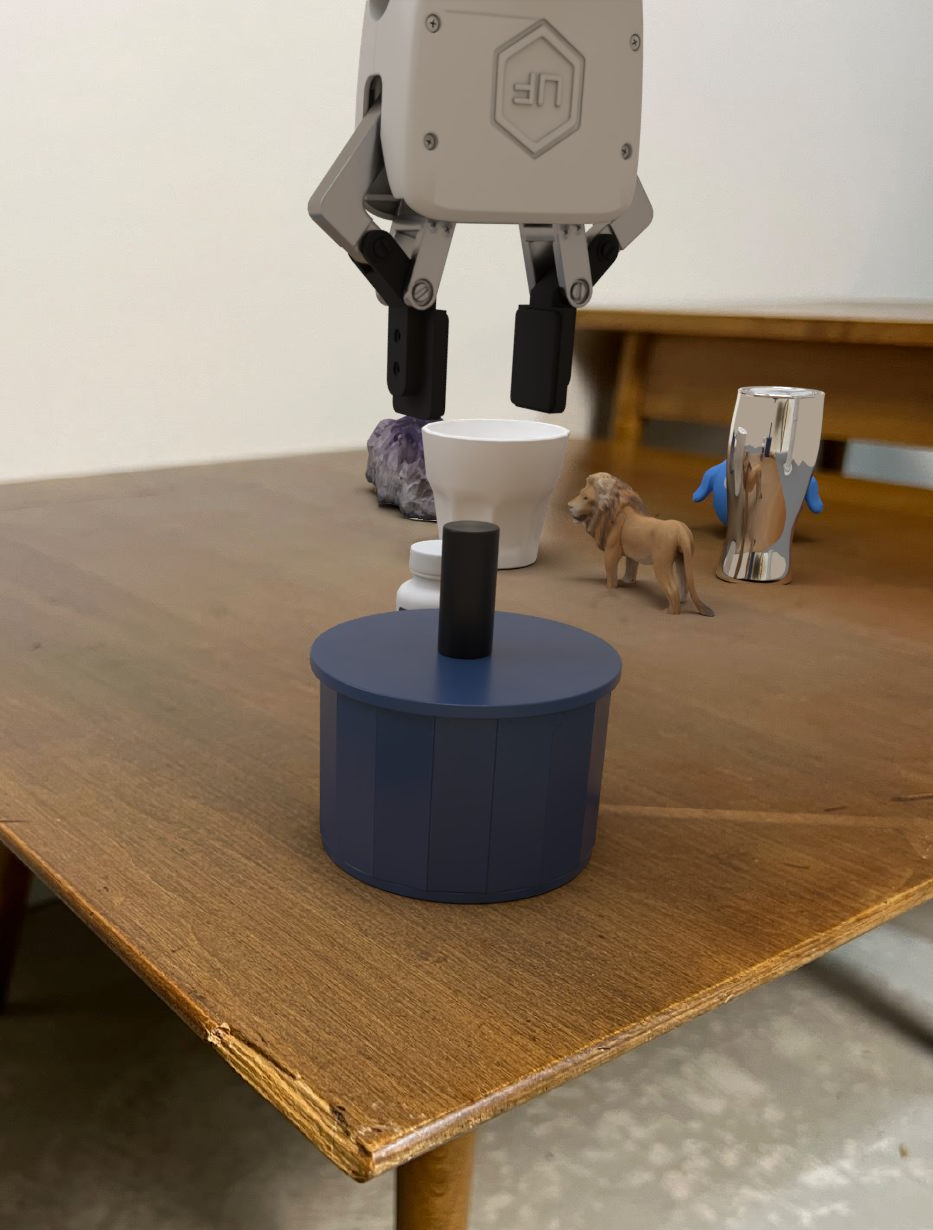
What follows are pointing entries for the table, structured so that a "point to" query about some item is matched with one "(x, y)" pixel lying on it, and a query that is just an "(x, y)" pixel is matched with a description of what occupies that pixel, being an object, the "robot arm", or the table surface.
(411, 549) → the pill bottle
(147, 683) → the table surface
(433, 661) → the lid
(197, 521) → the table surface
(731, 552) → the beer glass
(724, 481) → the blue mole toy
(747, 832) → the table surface
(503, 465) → the cup
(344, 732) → the pot
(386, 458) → the geode
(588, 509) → the lion figurine
